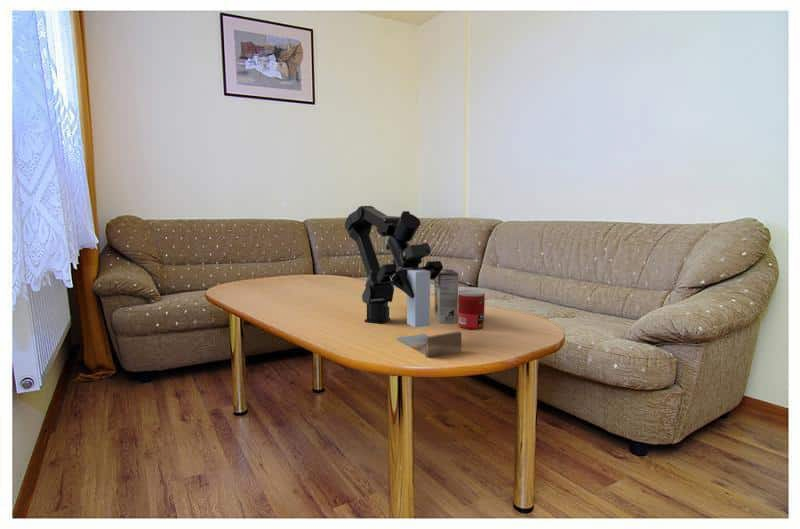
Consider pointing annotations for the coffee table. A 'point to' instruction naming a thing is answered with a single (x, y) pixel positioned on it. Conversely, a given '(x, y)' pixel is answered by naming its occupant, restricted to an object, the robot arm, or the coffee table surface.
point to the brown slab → (440, 344)
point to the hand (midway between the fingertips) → (421, 296)
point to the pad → (413, 339)
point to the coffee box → (446, 296)
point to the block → (419, 298)
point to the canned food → (471, 309)
